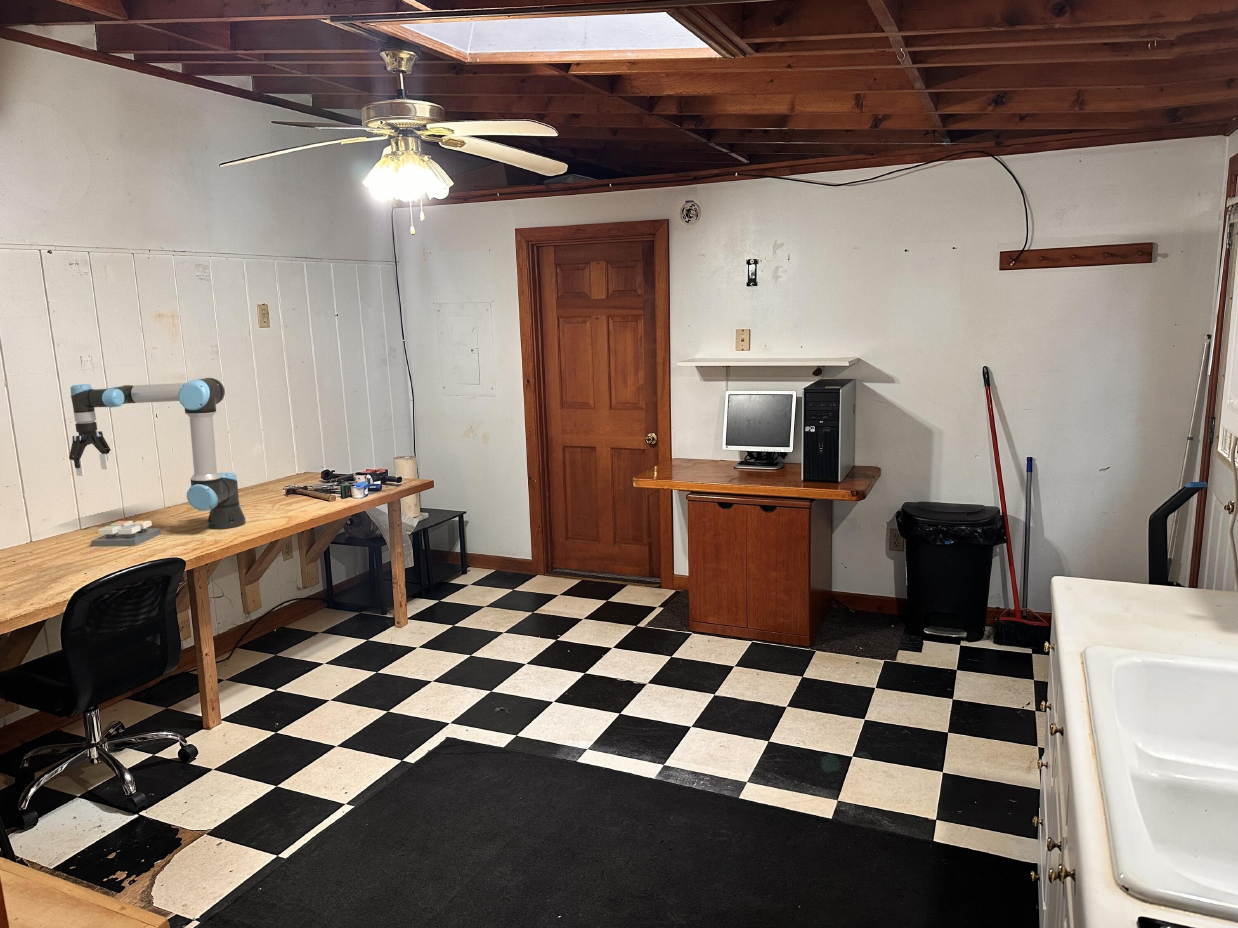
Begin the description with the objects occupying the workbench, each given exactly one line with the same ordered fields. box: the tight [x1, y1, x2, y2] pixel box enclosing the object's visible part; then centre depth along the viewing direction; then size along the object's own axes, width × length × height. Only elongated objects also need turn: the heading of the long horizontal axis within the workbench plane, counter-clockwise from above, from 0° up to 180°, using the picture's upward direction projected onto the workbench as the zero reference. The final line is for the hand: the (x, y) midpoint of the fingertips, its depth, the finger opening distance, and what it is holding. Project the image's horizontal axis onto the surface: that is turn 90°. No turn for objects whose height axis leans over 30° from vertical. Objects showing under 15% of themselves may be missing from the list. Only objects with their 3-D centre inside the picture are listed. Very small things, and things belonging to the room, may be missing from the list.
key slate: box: [118, 526, 141, 538], centre depth 349 cm, size 6×6×4 cm
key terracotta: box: [110, 520, 134, 528], centre depth 358 cm, size 6×6×4 cm
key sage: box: [97, 525, 121, 538], centre depth 350 cm, size 6×6×4 cm
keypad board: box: [90, 528, 162, 547], centre depth 354 cm, size 18×18×2 cm
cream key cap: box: [130, 520, 153, 533], centre depth 357 cm, size 6×6×4 cm
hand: (93, 472), depth 360 cm, fingers open, 13 cm apart
